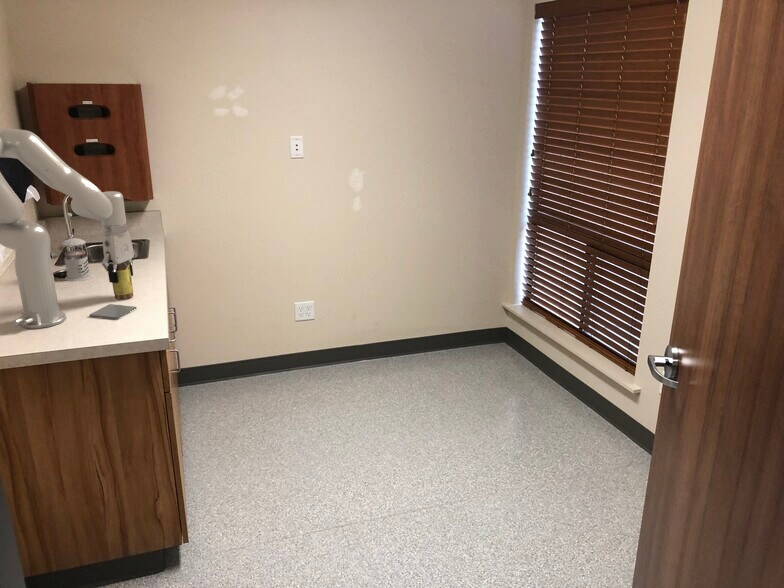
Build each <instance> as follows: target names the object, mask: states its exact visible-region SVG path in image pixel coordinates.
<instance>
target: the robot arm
mask: <svg viewBox="0 0 784 588" xmlns="http://www.w3.org/2000/svg"><path fill="white" fill-rule="evenodd" d="M0 158H6V159H7V158H11V159H17V160H18V161H20V162H21V163H22V164H23V165H24V166H25V167H26V168H27V169H29V170H30V171H31V173H33V175H35V176H36V177H37V178H38V179H39V180H40V181H42V183H43V184H45V185H46V186H48V187H49V188H51V189H53V190H56V191H58V192H60V193H62V194H65V195H67V196H68V197H70V198H71V199H72V200H71V202H70V208H71V210H72V211H73V213H75V215H77V216H79V217H82V218H86V219H93V220H96V221H101V228H102V234H103V235H102V249H103V260H102V261H101V265H102V267H103V268H104V269H105V271H106V272H107V274H108V280H109V283H118V282H119V280H118V273H117V271H116V267H117V264H121V263H123V262H126V261H128V262H129V266H130V272H131V277H133V276H134V269H133V264H134V262H133V260H134V257H135V250H134V247H133V242H132V237H131V234H130V232H129V230H128V225H127V224H128V223H127V218H126V209H125V203H124V195H123V194H122V193H121V192H120V191H114V190H113V191H109V190H108V191H103V192H102V190H101V189H100V188H99V187H98V186H96V185H95V184H94V183H93V182H91V181H90V180H89V179H87V178H86V177H84V176H83V175H81V174H80V173H79V172H77V170H75V169H73V167H70V166H69V165H68V164H67V163H66V162H65V161H63V159H62V158H61V157H60V156H59V155H58V154H57V153H55V152H54V150H53V149H51V148H50V147H49V146H48V145H47V143H45V142H44V141H43V140H42V139H41V138H40V136H38V135H37V134H35V133H34V132H32V131H30V130H26V129H20V128H19V129H17V128H3V127H2V128H1V127H0ZM24 215H25V206H24V203H23V202H22V200H21V199H20V198H19V196H18V195H17V193H15V191H14V190H13V188H12V186H10V185H9V183H8V181H7V180H6V179H5V177H4V175H3V174H2V172H1V171H0V245H2V246H3V247H5V248H7V249H10V250H14V251H15V257H14V258H15V259H14V270H15V275H16V278H17V279H16V280H17V284H18V290H19V295H20V299H21V304H22V305H21V306H22V310H23V311H21V312H20V314H21V315H20V316H19V317H17V318H14V319H13V320H12V325H13V326H14V327H17V326H21V327H22V328H25V329H43V328H49V327H53V326H56V325H58V324H62V323H63V322H64V321H65V320H66V319H67V315H66V313H65V312H63V311H60V306H59V302H58V301H59V300H58V294H57V289H56V283H55V277H54V273H53V267H52V260H51V259H52V258H51V237H50V233H49V232H48V230H47V229H46V228H45V227H44V226H42V225H41V224H39V223H37V222H35V221H31V220H28V219H27V220H26V219H22V218H24ZM111 261H113V262H111ZM111 265H113V268H112V267H111Z"/></svg>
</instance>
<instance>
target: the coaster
mask: <svg viewBox="0 0 784 588" xmlns="http://www.w3.org/2000/svg"><path fill="white" fill-rule="evenodd" d="M136 308H137V306H132V305H122V304H115V303H114V304H113V303H109V304H107V305H105V306H102V307H101V308H99V309H97V310H95V311H93V312H91V313H89V317H90V318H96V317H102V318H101V319H105V318H110V319H109V320H115V319H118V320H120V319H121V318H120V317H122V316H124V315H125V314H127V313H129V312H130V311H132V310H134V309H136ZM137 309H138V308H137ZM137 309H136V310H137ZM134 311H135V310H134ZM132 312H133V311H132ZM129 314H130V313H129ZM127 315H128V314H127ZM125 316H126V315H125ZM125 316H124V317H125ZM119 318H120V319H119ZM122 318H123V317H122Z"/></svg>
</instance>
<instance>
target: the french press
mask: <svg viewBox="0 0 784 588" xmlns="http://www.w3.org/2000/svg"><path fill="white" fill-rule="evenodd" d="M65 215H66V217H68V220H69V225H70V230H71V237H72V238H69V239H65V240H64V241H62V242H61V245H62V246H63V247H73V249H74V250H71V251H68V252H67V251H66V252H65V253H64V264H65V270H66V277H65V278H64V281H67V282H83V281H87V280H88V281H89V280H90V279H92V278H93V277H94V275H93V274H92V273H90V267H89V260H88V249H87V246H86V240H83V239H82V238H75V237H74V235H73V228H72V223H71V217H72V216H73V214H72V213H71V212H67V213H66V214H65ZM83 245H84V247H85V250H86V251H85V250H84V247H83ZM75 247H78V248H81V250H76V248H75ZM81 256H82V257H81Z"/></svg>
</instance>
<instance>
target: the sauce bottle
mask: <svg viewBox="0 0 784 588" xmlns="http://www.w3.org/2000/svg"><path fill="white" fill-rule="evenodd" d="M111 262H113V261H111ZM111 267H112V268H113V265H111ZM116 271H117V273H118V280H119V282H118V283H112V284H111V285H112V290H113V295H114V297H115V299H117V300H119V301H120V300H122V301H124V300H129V299H131V298H133V297H134V287H133V282H132V281H133V280H132V276H131V272H130V266H129V262H128V261H126V262H123V263H121V264H117V267H116ZM123 299H124V300H123Z"/></svg>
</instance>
